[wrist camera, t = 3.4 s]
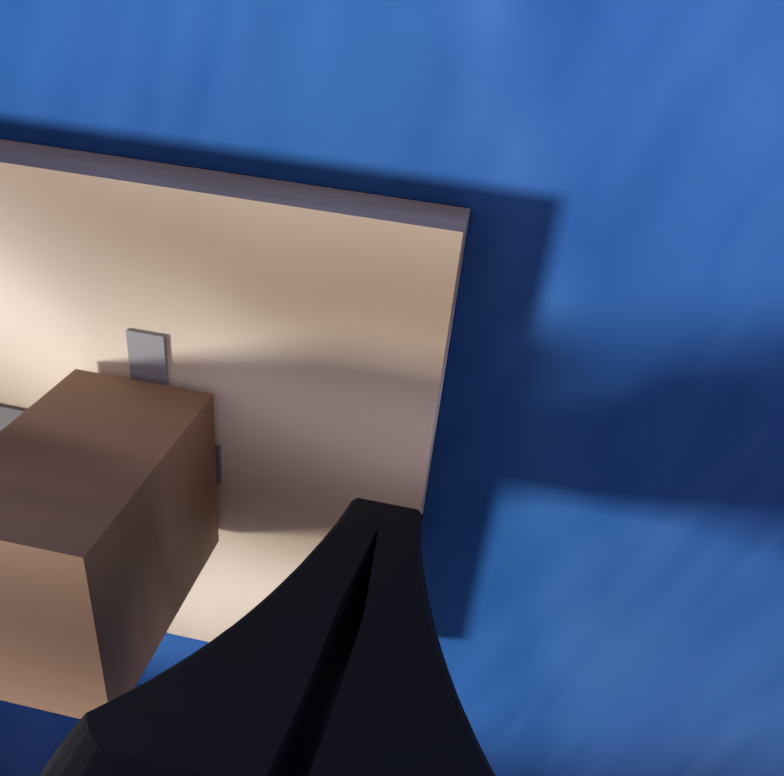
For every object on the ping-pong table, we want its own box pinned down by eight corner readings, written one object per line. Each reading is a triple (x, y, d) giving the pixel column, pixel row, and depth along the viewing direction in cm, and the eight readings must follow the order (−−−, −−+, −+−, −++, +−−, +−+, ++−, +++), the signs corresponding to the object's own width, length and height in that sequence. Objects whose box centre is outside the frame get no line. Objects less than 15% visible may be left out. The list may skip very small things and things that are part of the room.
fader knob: (219, 540, 16) (111, 726, 12) (97, 516, 17) (-47, 689, 13) (213, 394, 14) (83, 558, 10) (75, 369, 15) (-105, 518, 11)
